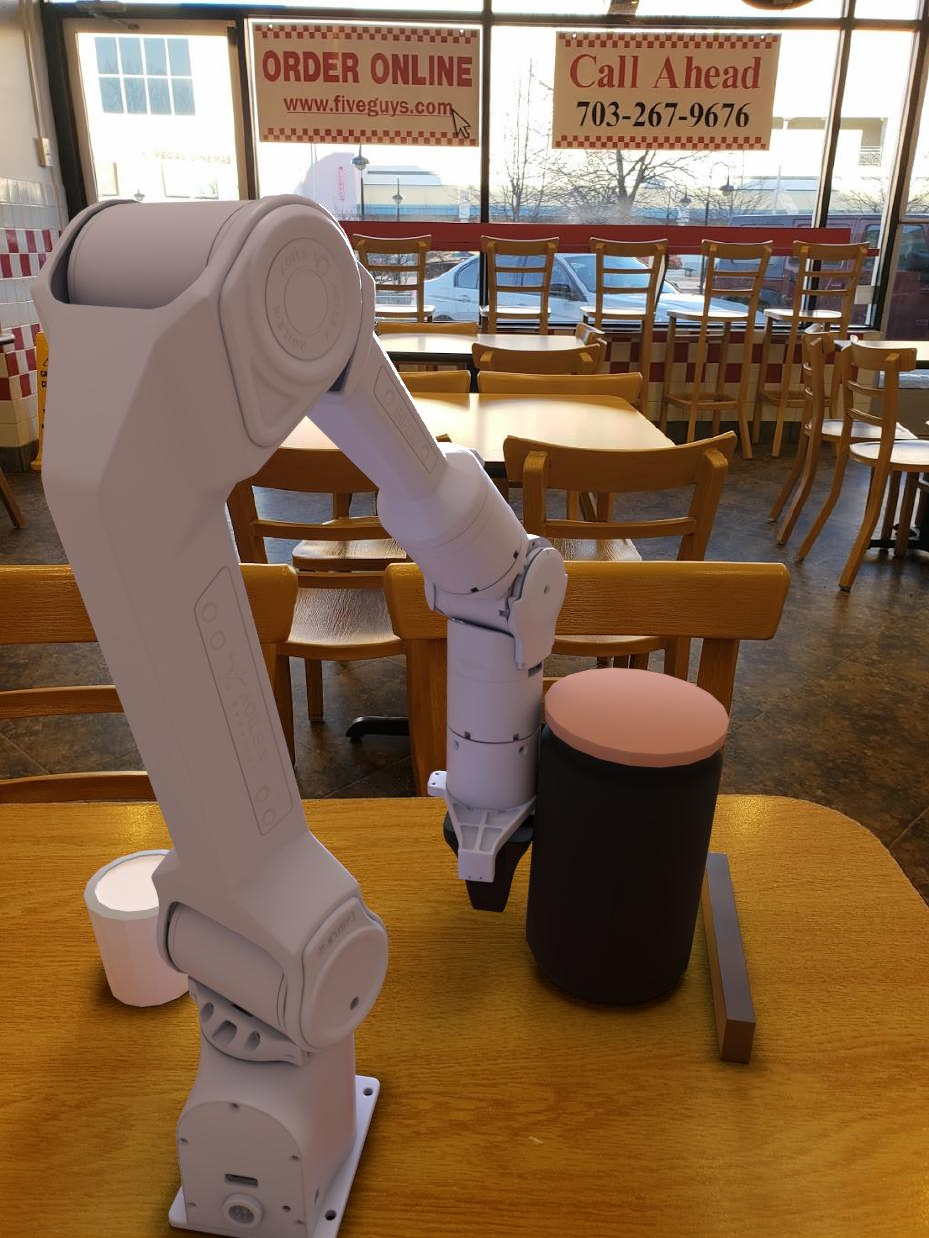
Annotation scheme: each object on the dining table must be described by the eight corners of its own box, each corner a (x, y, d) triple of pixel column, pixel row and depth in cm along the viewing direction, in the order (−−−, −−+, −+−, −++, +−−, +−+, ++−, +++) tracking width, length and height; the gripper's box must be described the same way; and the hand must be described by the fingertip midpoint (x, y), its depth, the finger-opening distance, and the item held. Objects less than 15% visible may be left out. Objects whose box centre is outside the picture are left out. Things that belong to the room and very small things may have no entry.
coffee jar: (688, 912, 65) (726, 679, 58) (689, 1029, 55) (735, 766, 49) (535, 886, 67) (555, 657, 60) (511, 995, 57) (531, 737, 50)
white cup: (195, 1015, 56) (184, 920, 53) (80, 1012, 56) (63, 917, 53) (224, 937, 62) (216, 848, 60) (122, 935, 62) (108, 846, 60)
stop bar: (749, 1063, 53) (756, 1022, 52) (720, 1059, 53) (726, 1018, 52) (722, 888, 68) (726, 853, 67) (699, 885, 68) (703, 850, 67)
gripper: (448, 667, 64) (447, 835, 69) (403, 776, 51) (406, 975, 56) (552, 675, 63) (543, 845, 68) (533, 788, 50) (524, 989, 55)
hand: (489, 904), depth 62 cm, fingers closed, pressing on coffee jar
